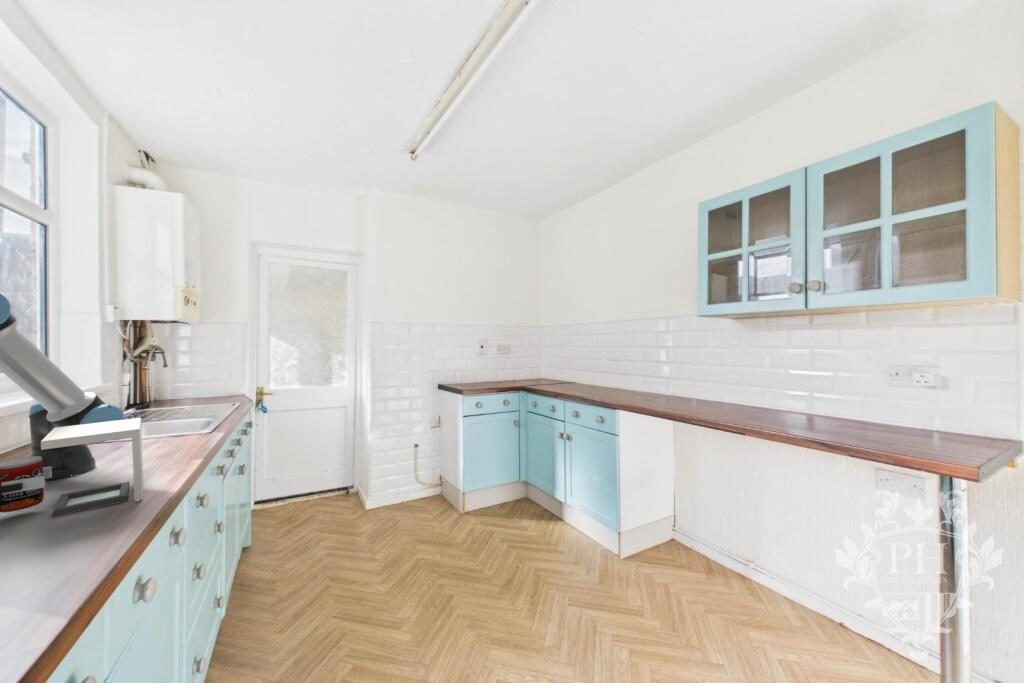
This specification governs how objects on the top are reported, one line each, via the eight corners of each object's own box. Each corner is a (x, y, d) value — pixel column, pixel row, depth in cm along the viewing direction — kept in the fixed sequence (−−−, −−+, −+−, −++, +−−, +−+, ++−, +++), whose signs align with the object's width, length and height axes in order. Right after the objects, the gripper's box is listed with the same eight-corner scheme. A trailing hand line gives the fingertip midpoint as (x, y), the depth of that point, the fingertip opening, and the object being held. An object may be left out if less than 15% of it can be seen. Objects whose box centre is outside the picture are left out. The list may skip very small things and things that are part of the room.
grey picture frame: (53, 516, 98) (52, 510, 98) (61, 499, 108) (61, 494, 108) (127, 500, 107) (126, 495, 107) (129, 486, 116) (128, 481, 116)
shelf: (44, 521, 96) (40, 441, 95) (57, 497, 109) (54, 427, 108) (142, 500, 107) (139, 428, 106) (143, 481, 120) (140, 417, 120)
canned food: (-3, 516, 93) (-5, 468, 93) (-8, 507, 98) (-10, 462, 97) (47, 503, 100) (45, 459, 99) (40, 496, 104) (38, 454, 104)
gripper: (-90, 504, 95) (56, 479, 110) (-138, 539, 79) (39, 504, 94) (-92, 472, 94) (54, 452, 109) (-141, 501, 79) (38, 472, 94)
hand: (47, 476), depth 102 cm, fingers closed on canned food, 8 cm apart
